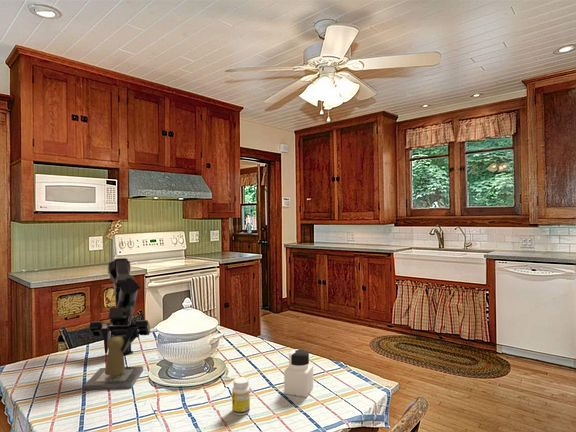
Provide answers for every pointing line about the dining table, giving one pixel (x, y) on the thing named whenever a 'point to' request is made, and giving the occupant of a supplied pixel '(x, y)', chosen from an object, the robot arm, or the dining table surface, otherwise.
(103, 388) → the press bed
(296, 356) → the medicine bottle
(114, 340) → the cork
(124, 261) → the robot arm
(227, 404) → the dining table surface
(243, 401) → the supplement bottle
